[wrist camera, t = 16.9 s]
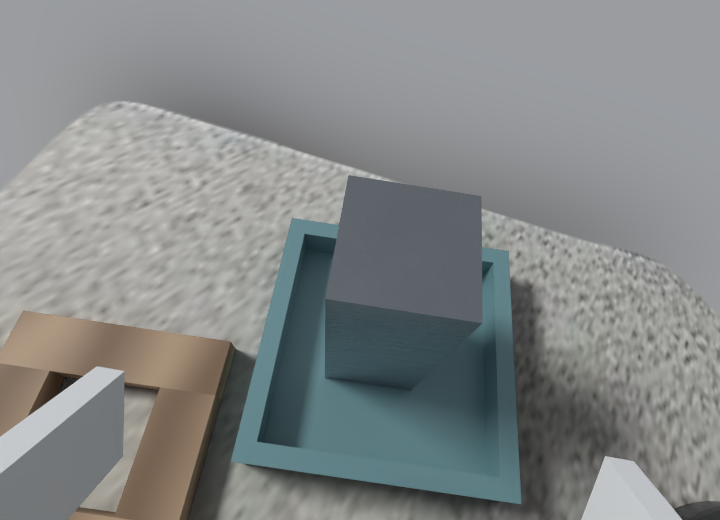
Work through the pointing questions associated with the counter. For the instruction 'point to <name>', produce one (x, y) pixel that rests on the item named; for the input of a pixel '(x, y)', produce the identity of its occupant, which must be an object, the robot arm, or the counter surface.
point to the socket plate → (142, 369)
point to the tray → (382, 393)
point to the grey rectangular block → (401, 282)
